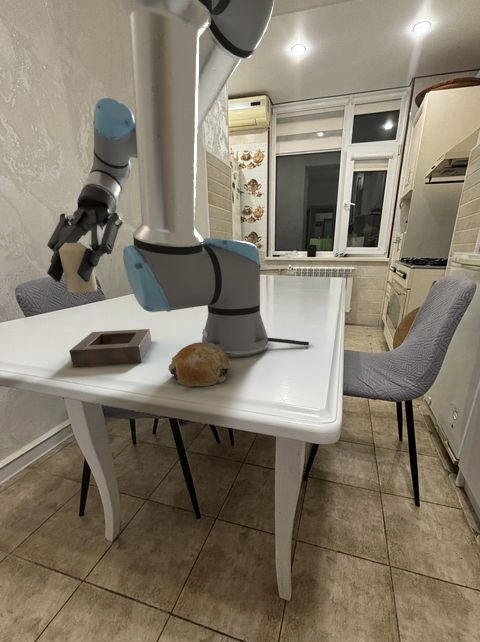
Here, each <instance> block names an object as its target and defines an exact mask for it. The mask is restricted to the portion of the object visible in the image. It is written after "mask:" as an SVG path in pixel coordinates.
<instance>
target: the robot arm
mask: <svg viewBox="0 0 480 642" xmlns="http://www.w3.org/2000/svg"><path fill="white" fill-rule="evenodd" d="M117 2H118V3H119V4H120V6H121V8H122V9H123V10H124V12H125V15H126V16H127V18H128V33H129V48H130V61H131V63H130V64H131V79H132V91H133V92H132V93H133V108H134V114H133V111H132V110H131V109H130V108H129V107H128V106H126V105H125V104H124V103H121V102H119V101H118V100H117V99H114V98H109V97H103V98H101V99H99V100H97V102H96V103H95V106H94V112H93V113H94V115H93V121H92V123H93V159H92V160H93V162H92V166H91V169H90V171H89V174H88V175H87V178H86V179H85V182H84V184H83V186H82V189H81V191H80V193H79V195H78V197H77V200H76V202H77V203H76V204H77V208H76V210H75V211H73V212H72V214H71V215H67V214H65V213H60V215H59V220H58V223H57V225H56V226H55V229H54V231H53V232H52V234H51V236H50V238H49V241H48V242H47V245H46V246H47V247H48V249H50V250H51V251H52V252H53V253H52V256H51V257H50V265H49V267H48V269H47V272H46V274H47V275H48V276H50V278H51V279H53V280H54V281H55V282H56V283H60V282H61V280H62V277H63V275H64V270H63V266H62V262H61V258H60V254H59V249H60V248H61V247H62V246H63V245H64V243H78V242H79V241H80V240H81V238H82V237H84V236H86V235H87V234H88V233H89V232H90V233H91V236H90V239H91V240H90V244H89V243H88V246H89V247H87V248H86V251H85V254H84V256H83V259H82V261H81V264H80V266H79V269H78V271H77V274H78V275H79V276H80V277H81V278H82V279H83V280H84V281H85V282H89V279H90V277H91V274H92V271H93V269H94V268H96V267H97V266H98V265H99V262H100V259H101V257H103V256H104V254H106V255H111V254H112V253H113V250H114V247H115V243H116V240H117V237H118V232H119V230H120V228H121V227H122V225H123V221H122V219H121V216H119V214H118V213H117V212H116V211H117V208H118V205H119V203H120V199H121V198H122V197H121V196H122V194H123V191H124V188H125V185H126V183H127V181H128V179H129V177H130V173H131V168H132V164H131V161H130V160H131V158H133V159H137V167H138V168H137V169H138V182H139V183H138V184H139V199H140V214H141V223H140V225H139V226H138V227H137V228H136V229H135V230H134V231H133V232H132V234H133V235H132V239H133V245H132V244H129V245H128V246H125V247H123V250H122V253H123V256H122V259H123V265H124V269H125V274H126V277H127V280H128V283H129V287H130V288H131V291H132V294H133V295H134V298H135V300H136V301H137V303H138V305H139V306H140V307H141V308H142V309H143V310H144V311H146V312H149V313H160V312H167V313H169V312H172V311H177V310H186V309H191V308H192V309H193V308H199V307H205V306H207V318H206V321H205V325H204V328H203V329H202V331H201V332H202V333H201V334H202V337H201V342H204V343H213V344H214V345H215V346H217V347H219V348H221V349H222V350H223V351H224V352H225V354H226V355H227V357H228V358H244V357H250V356H254V355H258V354H260V353H262V352H264V351H266V350H267V349H268V347H269V342H270V343H279V344H280V343H281V344H291V345H298V346H309V345H310V341H302V340H295V339H287V338H279V337H278V338H277V337H268V333H267V330H266V327H265V324H264V321H263V318H262V315H261V268H262V264H261V258H260V257H261V255H260V249H259V248H258V246H257V245H256V244H254V243H252V242H248V241H242V240H237V239H229V238H228V239H226V238H219V237H205V238H204V239H203V237H202V236H201V235H200V234H199V232H198V231H197V229H196V192H197V191H196V190H197V189H196V188H197V187H196V186H197V144H198V143H197V142H198V141H197V140H198V139H197V138H198V131H199V130H200V128H201V126H202V124H203V123H204V121H205V120H206V118H207V116H208V115H209V113H210V112H211V110H212V109H213V107H214V105H215V103H216V102H217V100H218V98H219V96H220V95H221V93H222V92H223V90H224V88H225V86H226V85H227V84H228V82H229V80H230V78H231V77H232V75H233V73H234V72H235V70H236V68H237V67H238V65H239V64H240V62H241V60H247V59H249V58H251V57H252V55H253V54H254V52H255V51H256V49H257V47H258V46H259V44H260V42H261V40H262V39H263V37H264V35H265V33H266V31H267V29H268V26H269V22H270V19H271V17H272V14H273V9H274V4H275V0H117Z"/></svg>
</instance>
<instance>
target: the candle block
mask: <svg viewBox="0 0 480 642" xmlns="http://www.w3.org/2000/svg"><path fill="white" fill-rule="evenodd" d="M152 343H153V341H152V336H151V329H150V328H143V329H141V328H140V329H120V330H102V331H91V332H90V333H89V334H88V335H86V336H85V337H84V338H83V339H82V340H80V341H79V342H78V343H77V344H75V345H74V346H73V347H72V348H71V349H69V351H68V352H69V355H70V360H71V363H72V368H84V367H96V366H97V367H99V366H113V365H114V366H115V365H127V364H140V363H142V362H143V360H144V358H145V357H146V354H147V352H148V351H149V349H150V347H151V345H152Z"/></svg>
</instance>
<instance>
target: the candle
mask: <svg viewBox="0 0 480 642" xmlns="http://www.w3.org/2000/svg"><path fill="white" fill-rule="evenodd" d="M86 248H88V247H87V246H85V245H84V244H83V243H82V242H79V241H78V242H77V243H64V245H63V246H62V247H61V248H60V249H59V254H60V258H61V262H62V266H63V270H64V273H63V275H64V278H65V283H66V287H67V290H68V293H72V294H82V293H90V292H91V293H92V292H96V291H98V285H97V280H96V275H95V269H94V268H93V271H92V274H91V277H90V279H89V282H85V281H84V280H83V279H82V278H81V277H80V276H79V275H78V274H77V271H78V269H79V266H80V264H81V261H82V259H83V256H84V254H85V251H86Z"/></svg>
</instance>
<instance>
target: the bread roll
mask: <svg viewBox="0 0 480 642" xmlns="http://www.w3.org/2000/svg"><path fill="white" fill-rule="evenodd" d="M170 362H171V363H170V364H169V365H168V371H169V372H170V374H171V375H172V376H173V377H172V379H174V380H175V381H176V382H177V383H179V384H180V385H183V386H186V387H188V388H193V387H209V386H213V385H216V384H218V383H223V382H224V381H225V380H226V379H227V376H228V373H229V371H230V360H229V357H227V355H226V354H225V352H224V351H223V350H222V349H221V348H219V347H217V346H215V345H214V344H213V343H204V342H202V341H201V342H193V343H191V344H188V345H186V346H184V347H182V348H181V349H180V350H179V351H178V352H177V353H176V354H175V355H174V356H173V357H172V358H171V361H170Z"/></svg>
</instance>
